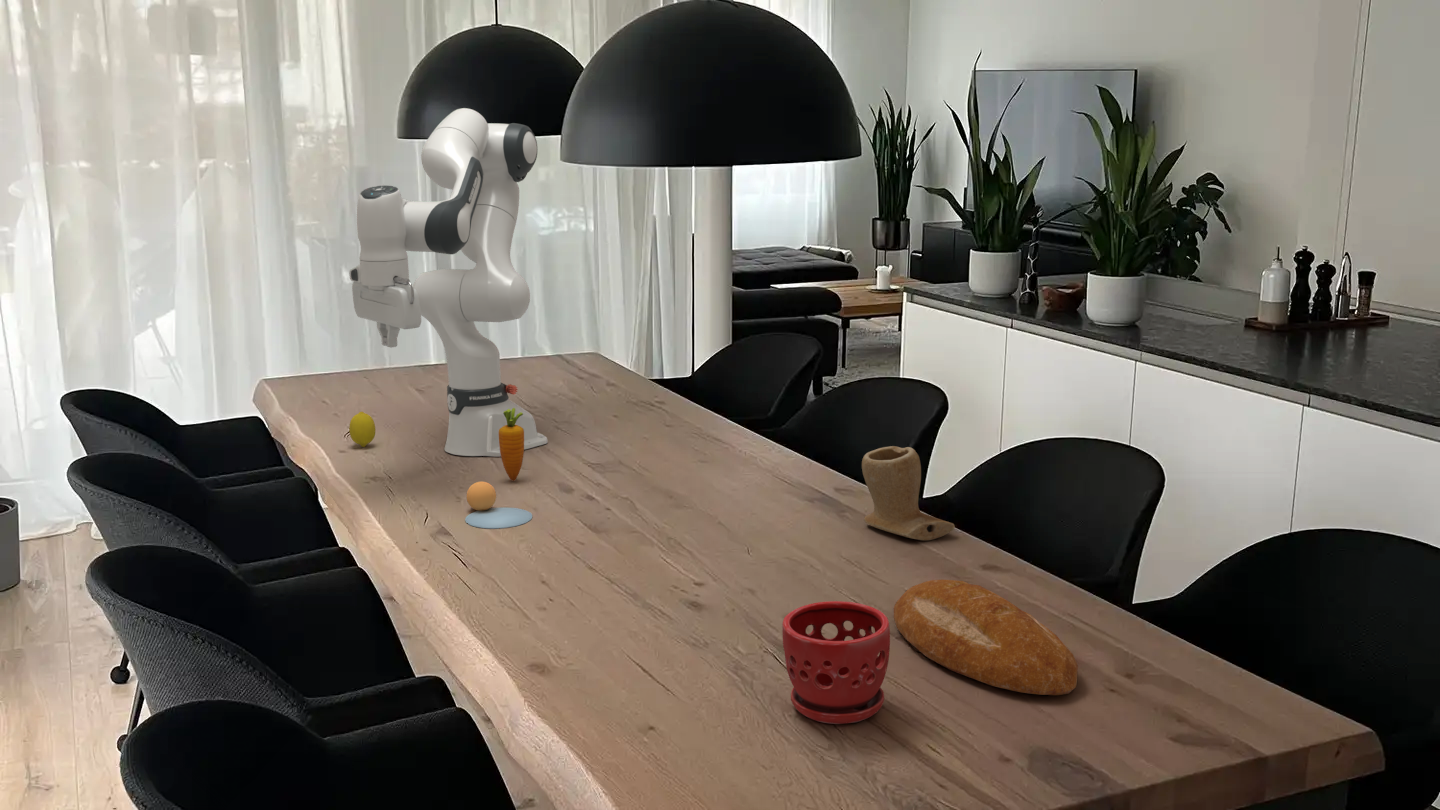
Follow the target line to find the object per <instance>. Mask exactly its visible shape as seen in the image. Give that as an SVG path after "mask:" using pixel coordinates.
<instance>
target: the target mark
mask: <svg viewBox="0 0 1440 810" xmlns="http://www.w3.org/2000/svg"><path fill="white" fill-rule="evenodd" d="M532 519H533V513H532V512H531V511H529V510H526V509H523V508H522V509H521V508H517V507H502V506H501V507H493V508H492V507H491V508H489V509H487V510H484V511H478V510H476V511H474V512H471V513H469V514H468V515H467V516H466V517H465V519H464V521H465V523H466V524H467V523H468V524H467V525H469V526H470V527H475V528H478V529H487V530H489V529H490V530H491V529H493V530H497V529H499V528H500V529H509V528H514V527H518V526H523V525H525V524H526V523H528V522H530V521H531V520H532Z"/></svg>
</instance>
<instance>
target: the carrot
mask: <svg viewBox="0 0 1440 810" xmlns="http://www.w3.org/2000/svg"><path fill="white" fill-rule="evenodd" d="M503 414H504V416H505V417H506V420H507V425H505V426H503V427H501V428H500V429H499V445H500V453H501V456H500V457H501V462H502V465H503V468H504V470H505V472H506V475H507V476H508V478H509V480H510V481H511V482H515V481H516V480H517V478H518V476H519V474H520V471H521V469H522V466H523V460H524V455H525V454H524V452H525V450H524V430H523V428H522V427H520V426H518V425H515V423H516V421H517V419H518V418H519V417H520V416H522V415H523V413H522V412H520V413H518V414H517V415H516V417H514V415H515V408H512V411H511V410H510V409H508V410H507V411H504V412H503Z"/></svg>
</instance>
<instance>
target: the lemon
mask: <svg viewBox="0 0 1440 810" xmlns="http://www.w3.org/2000/svg"><path fill="white" fill-rule="evenodd" d="M348 427H349V428H348V431H349V436H350V438H351V440H352V441H353V442H354V443H355V444H357V445H359V446H361V447H362V448H366V446H367V445H368V444H370V443H371V442H372V441H373V440H374V438H375V435H376V424H375V421H374V419H373V417H372V416H371V415H370V414H368V413H366V412H364V411H359V412H358V413H356V414H355V415H353V417H352V418H351V420H350V422H349V426H348Z"/></svg>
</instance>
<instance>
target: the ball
mask: <svg viewBox="0 0 1440 810" xmlns="http://www.w3.org/2000/svg"><path fill="white" fill-rule="evenodd" d="M466 500H467V503H468V505H469V507H471V508H472V509H473V510H476V511H484V510H487V509H489V508H492V507H493V506H494V505H495V503H496V500H497V492H496V490H495V487H494V486H493V485H492V484H490V483H489V482H486V481H477V482H474V483H473V484H471V485H470V486H469V488H468V489H467V491H466Z"/></svg>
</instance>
